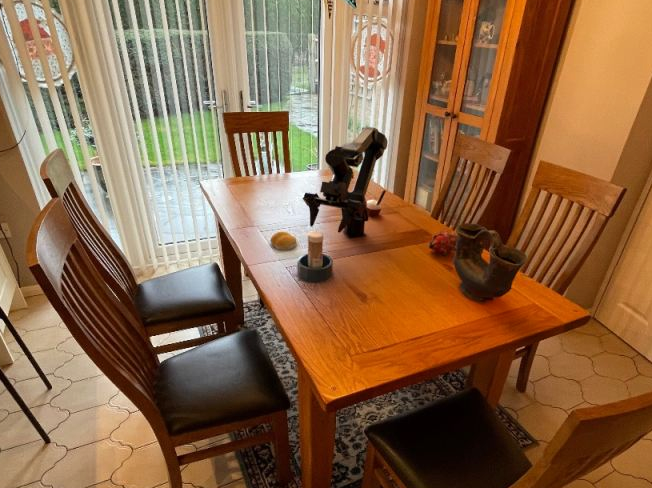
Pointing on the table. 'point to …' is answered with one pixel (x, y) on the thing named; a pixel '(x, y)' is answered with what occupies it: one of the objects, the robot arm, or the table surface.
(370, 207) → the cocoa
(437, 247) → the dragon fruit
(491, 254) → the pottery vessel
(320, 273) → the bowl
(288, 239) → the bread roll
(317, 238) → the spice jar
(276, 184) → the table surface
